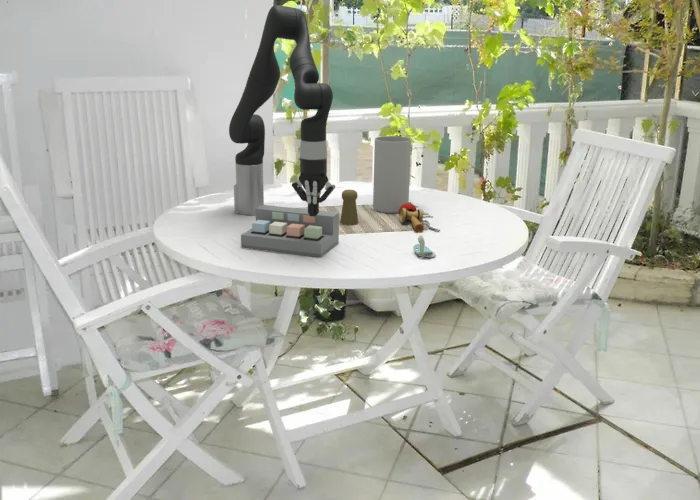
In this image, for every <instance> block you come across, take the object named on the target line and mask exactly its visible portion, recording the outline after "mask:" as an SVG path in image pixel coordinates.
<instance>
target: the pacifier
mask: <svg viewBox="0 0 700 500" xmlns="http://www.w3.org/2000/svg"><path fill="white" fill-rule="evenodd" d="M417 240H418V241H417V242H418V243H417V244H415V245H413V252H414V253H415V254H416V255H418V257H420V256H423V257H422V258H434V257H436V253H435V252H434V251H432V250H431V249H430V248H429V247H427V246H426V244H425V243H426V242H425V238H424V236H423V235H422V234H420V235H419V236H418V238H417Z"/></svg>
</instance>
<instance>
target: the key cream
mask: <svg viewBox="0 0 700 500" xmlns="http://www.w3.org/2000/svg"><path fill="white" fill-rule="evenodd" d="M286 232H287V223H283V222H273V223H272V224H270V225H269V233H271V236H278V237H283V236H285V235H286Z"/></svg>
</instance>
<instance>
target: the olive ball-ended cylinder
mask: <svg viewBox="0 0 700 500" xmlns="http://www.w3.org/2000/svg"><path fill="white" fill-rule="evenodd" d="M341 198H342V200H343V202H342V206H341V215H340V219H339V224H341V225H344V226H355V225H358V224H359V218H358V209H357V199H358V192H357V191H356V190H355V189H345V190H343V191H342V192H341Z"/></svg>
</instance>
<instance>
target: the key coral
mask: <svg viewBox="0 0 700 500" xmlns="http://www.w3.org/2000/svg"><path fill="white" fill-rule="evenodd" d="M304 229H305V225H301V224H290V225H289V226H287V235H289V238H295V239H301V238H302V237H303V234H304Z"/></svg>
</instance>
